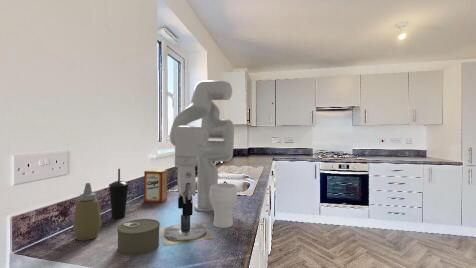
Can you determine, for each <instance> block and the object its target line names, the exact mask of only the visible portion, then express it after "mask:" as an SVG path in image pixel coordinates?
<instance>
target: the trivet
mask: <svg viewBox="0 0 476 268" xmlns="http://www.w3.org/2000/svg"><path fill="white" fill-rule="evenodd" d="M196 223H197V222H196ZM197 224H201V225H203V226H204V227H205V228H206V233H205V235H204V236H202V237H200V238H198V239H195V240H190V241H174V240H170V239H167V238H166V237H165V235H164V232H165V230H166V229H167V228H168V227H169V226H162V227H161V226H160V227H159V233H160V235H161V240H162V244H163V247H165V246H172V245H173V246H174V245H179V244H185V243H193V242H200V241H201V242H202V241H207V240H213V239H215V237H214V236H213V234H212V233H211V232H210V230H209V229H208V228H207V226H206V225H205V224H204V222H198V223H197Z"/></svg>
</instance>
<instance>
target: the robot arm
mask: <svg viewBox="0 0 476 268" xmlns="http://www.w3.org/2000/svg"><path fill="white" fill-rule="evenodd" d="M232 87H233V86H232V84H231V83H230V82H229V81H225V80H202V81H201V80H200V81H198V82H197V83H196V84H195V86H194V90H193V92H192V97H191V101H190V105H188V106H187V107H185V108H184V109H182V111H181V112H179V113H178V114H177V115H176V117H174V120H173V121H172V122H173V123H172V125H171V128H170V131H169V141H170V143H171V144H172V146H174V166H175V167H177V193H178V198H177V199H178V200H177V201H178V202H177V208H178V209H179V210H180V209H182V214H181V215H183V216H190V217H191V216H193V212H194V211H193V210H195V211H198V212H214V209H213V207H212V205H211V202H210V189H211V185H213V184H219V171H218V168H217V165H216V164H215V163H214V162H230V161H231V160H232V159H233V156H234V144H235V143H234V138H235V127H234V123H233V121H232V120H231V119H226V118H223V119H221V118H220V115H221V114H220V113H221V111H220V108H219V107H218V105H217V104H216V103H215V102H214V101H230V99H231V97H232V95H233V88H232ZM200 119H201V122H200V123H201V126H198V127H197V126H191V125H188V124H190V123H193V122H195V121H199V120H200ZM212 139H213V140H212ZM219 139H220V140H219ZM196 167H197V184H196ZM196 187H197V189H196ZM196 193H197V194H196ZM196 195H197V197H196V198H197V201H196V202H197V203H196V204H193V196H196Z"/></svg>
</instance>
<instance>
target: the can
mask: <svg viewBox="0 0 476 268" xmlns="http://www.w3.org/2000/svg"><path fill="white" fill-rule="evenodd" d="M160 225H161V223H160V222H159V221H158V220H155V219H151V218H142V219H141V218H140V219H133V220H129V221H125V222H123V223H121V224H119V225H118V226H117V228H116V231H117V252H118V253H119V254H121V255H123V256H130V257H131V256H133V257H134V256H135V257H136V256H142V255H146V254H149V253H151V252H153V251H155V250H157V249H158V248H159V246H160V227H161V226H160Z"/></svg>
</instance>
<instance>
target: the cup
mask: <svg viewBox="0 0 476 268" xmlns="http://www.w3.org/2000/svg"><path fill="white" fill-rule="evenodd" d="M237 190H238V189H237V186H236V184H234V183H226V182H225V183H224V182H223V183H218V184H213V185H211V189H210V202H211V205H212V207H213V209H214V211H213V215H214V216H213V221H212V222H213V223H212V225H213V226H214V227H216V228H225V229H226V228H230V227H232V226H233V225H234V220H233V211H234V207H235V205H236V203H237V199H238V191H237Z"/></svg>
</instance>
